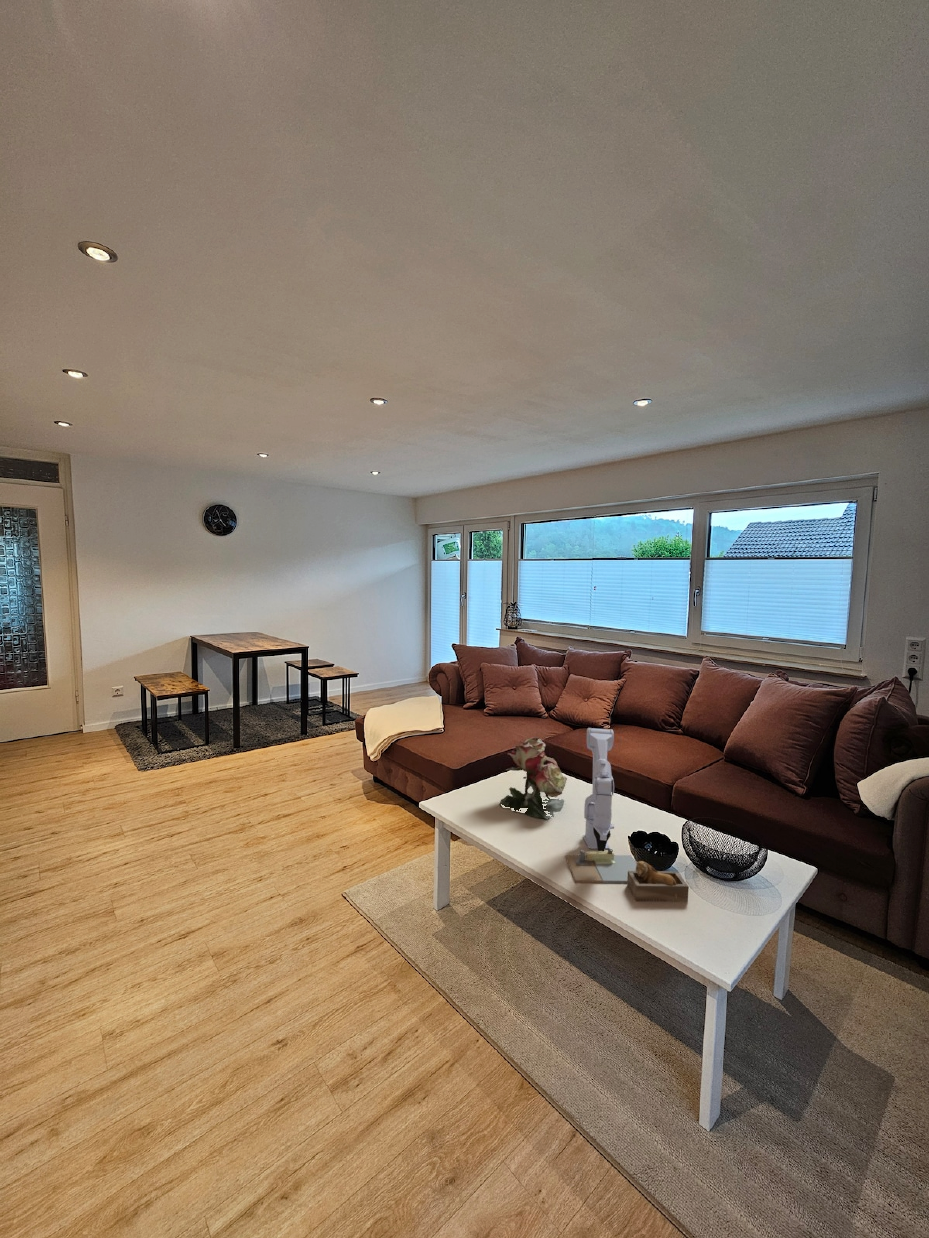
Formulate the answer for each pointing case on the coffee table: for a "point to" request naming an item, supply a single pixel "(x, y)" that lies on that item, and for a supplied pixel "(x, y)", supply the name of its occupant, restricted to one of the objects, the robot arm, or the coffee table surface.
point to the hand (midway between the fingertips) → (600, 850)
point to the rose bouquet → (536, 780)
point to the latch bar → (600, 855)
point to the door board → (600, 869)
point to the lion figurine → (653, 875)
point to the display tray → (657, 888)
